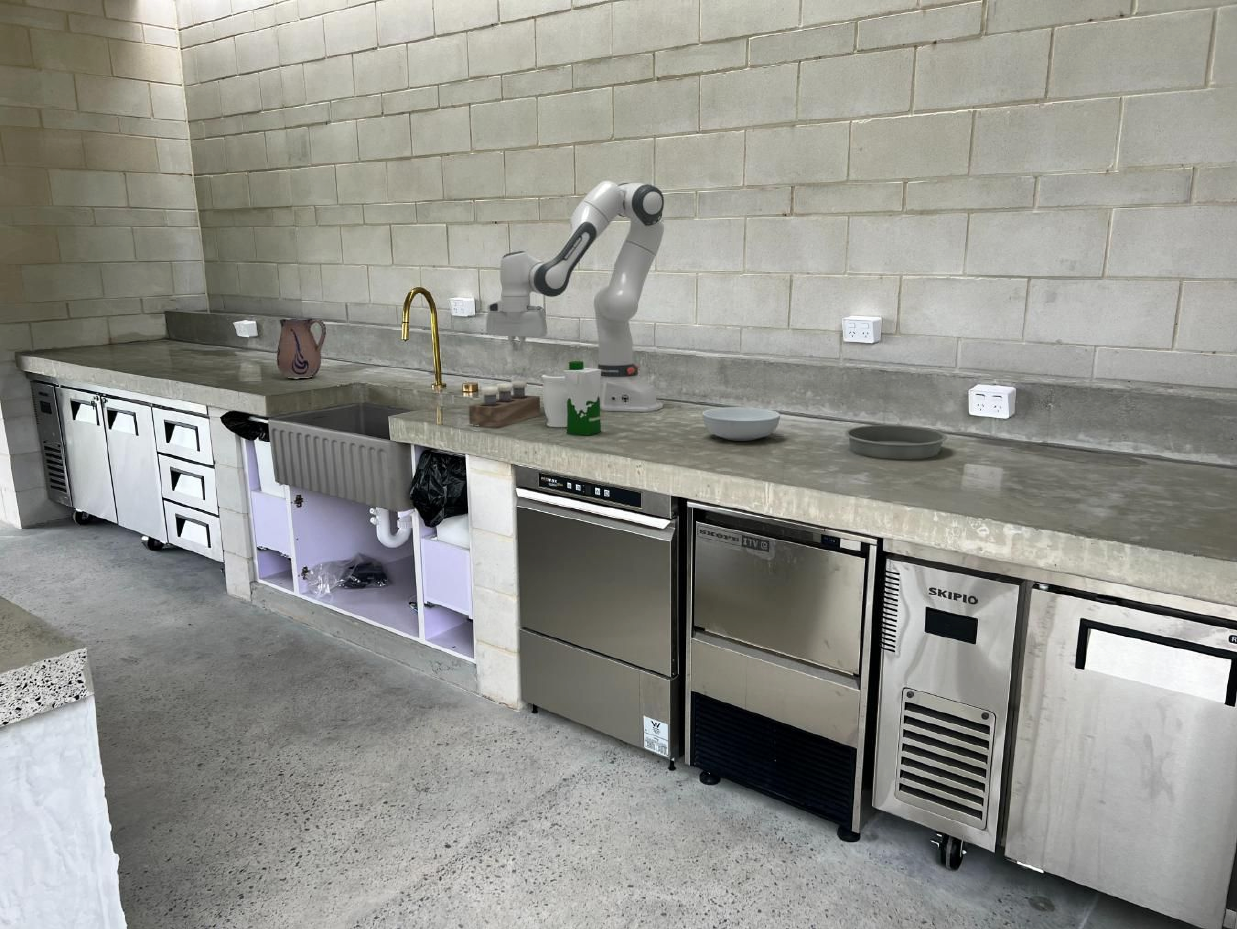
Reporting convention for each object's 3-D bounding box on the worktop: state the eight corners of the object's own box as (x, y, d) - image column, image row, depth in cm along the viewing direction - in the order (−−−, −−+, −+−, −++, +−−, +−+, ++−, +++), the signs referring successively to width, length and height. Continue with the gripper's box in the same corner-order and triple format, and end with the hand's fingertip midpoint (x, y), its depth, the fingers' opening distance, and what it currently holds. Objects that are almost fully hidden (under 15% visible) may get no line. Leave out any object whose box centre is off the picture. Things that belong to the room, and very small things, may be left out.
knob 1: (501, 408, 278) (501, 386, 276) (492, 410, 273) (492, 388, 272) (488, 407, 280) (487, 385, 278) (479, 409, 275) (478, 387, 274)
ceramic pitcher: (284, 376, 400) (278, 317, 395) (334, 375, 402) (329, 316, 397) (274, 381, 383) (268, 320, 378) (326, 380, 385) (321, 319, 380)
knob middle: (516, 404, 285) (515, 383, 283) (507, 406, 280) (506, 385, 279) (503, 403, 287) (502, 382, 285) (494, 405, 282) (493, 384, 281)
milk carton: (579, 429, 269) (578, 359, 264) (606, 431, 264) (604, 361, 260) (562, 434, 262) (560, 363, 257) (588, 436, 257) (587, 364, 252)
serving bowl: (726, 448, 240) (727, 422, 238) (688, 434, 258) (688, 410, 257) (794, 441, 248) (795, 415, 246) (753, 428, 266) (753, 404, 265)
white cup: (551, 429, 268) (550, 378, 265) (537, 424, 277) (536, 374, 274) (584, 426, 273) (583, 375, 270) (570, 421, 282) (569, 371, 279)
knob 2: (530, 400, 292) (529, 379, 290) (521, 402, 287) (521, 381, 286) (517, 399, 294) (516, 379, 292) (508, 401, 289) (507, 381, 288)
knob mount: (540, 415, 293) (539, 396, 292) (498, 428, 272) (497, 407, 271) (513, 413, 297) (512, 394, 296) (469, 425, 276) (468, 405, 275)
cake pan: (838, 458, 227) (838, 439, 226) (850, 439, 250) (851, 422, 249) (944, 464, 219) (945, 445, 218) (947, 444, 241) (948, 427, 240)
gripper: (550, 305, 282) (551, 351, 285) (494, 304, 291) (495, 348, 294) (539, 306, 277) (541, 353, 280) (482, 305, 286) (484, 350, 289)
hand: (517, 351), depth 287 cm, fingers closed
